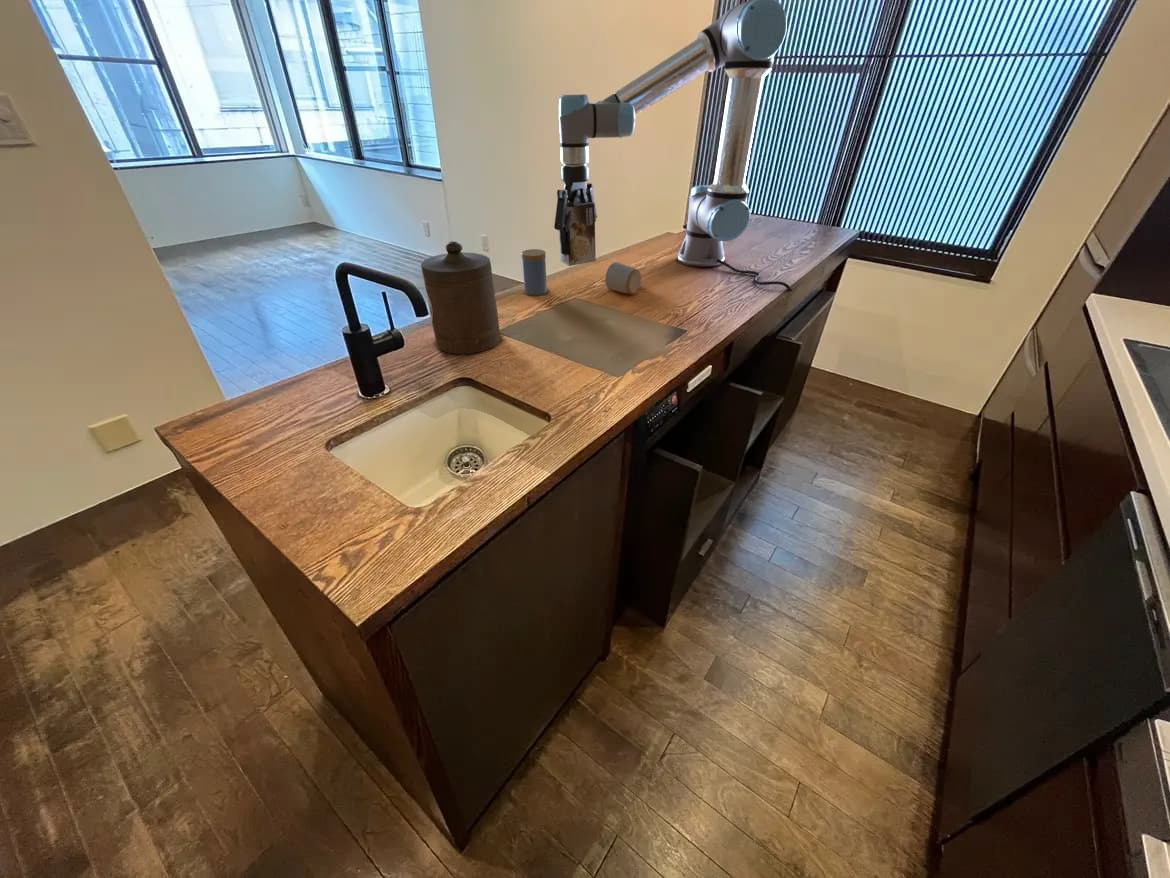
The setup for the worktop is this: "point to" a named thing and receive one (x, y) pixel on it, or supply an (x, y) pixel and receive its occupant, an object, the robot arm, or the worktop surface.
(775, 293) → the worktop surface
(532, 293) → the tea tin
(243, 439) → the worktop surface
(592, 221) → the coffee box
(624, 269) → the ceramic mug
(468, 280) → the wooden container
